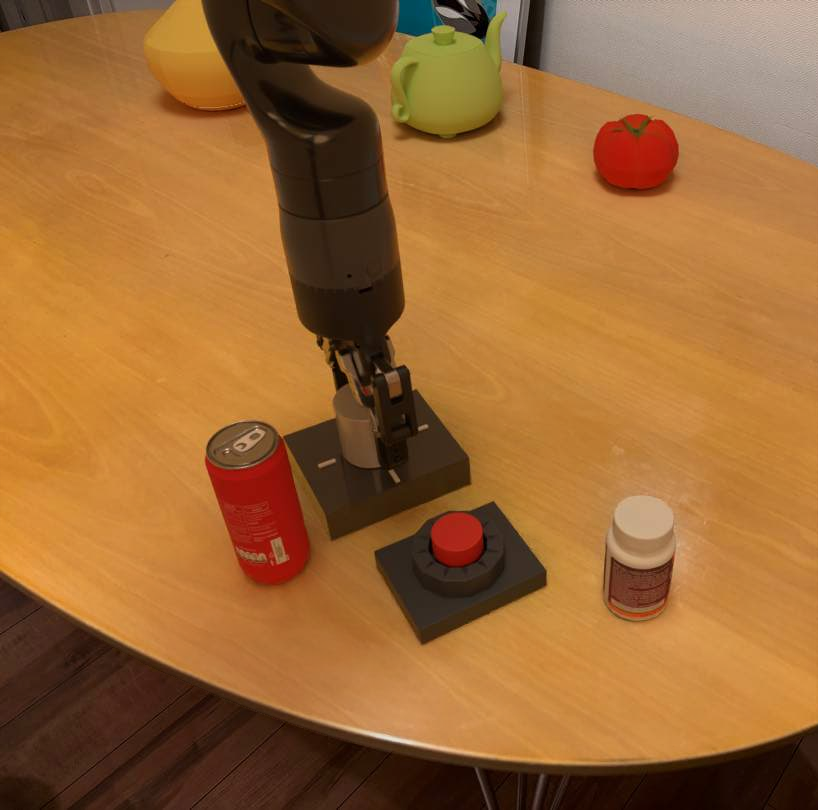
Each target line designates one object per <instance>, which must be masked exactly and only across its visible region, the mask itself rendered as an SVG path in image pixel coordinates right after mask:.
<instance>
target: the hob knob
mask: <svg viewBox="0 0 818 810" xmlns="http://www.w3.org/2000/svg"><path fill="white" fill-rule="evenodd" d="M361 387H362V389H363V392H364V393H365V394H366V395H371V394H373V393H372V391H371V385H369V386H366V387H363V386H361ZM332 409H333V414H334V418H335V420H336V425H337V430H338V435H339V440H340V445H341V450H342V454H343V456H344V458H345V459H346V460H347V461H348V462H349V463H351V464H353V465H355V466H358V467H362V468H378V467H381V466H380V464H379V463H378V457H377V451H376V445H375V439H374V434H373V432H372V426H371V423H370V420H369V417H368V414H367V412H366V410H365V409H364V408H360V407H358V406H357V404H356V401H355V398H354V396H353V393H352V390H351V387H350V384H349V383H348V384H346V385H344V386H343V387H341V388H340V389H339V390H338V391H337V392H336V391H335V393H334V396H333V399H332ZM406 441H407V439H406Z"/></svg>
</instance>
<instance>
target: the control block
mask: <svg viewBox="0 0 818 810" xmlns="http://www.w3.org/2000/svg"><path fill="white" fill-rule="evenodd" d="M451 513H466V514H469V515H472V516H474V517H475V518H476V519H477V520H478V521H479V522H480V523H481V526H482V530H483V552H482V554H481V556H480V557H479V558H478V559H477V560H476V561H475V562H473V563H472V564H470V565H467V566H464V567H450V566H446V565H444V564H442V563H440V562H439V561H438V560H437V559H436V557H435V556H434V553H433V547H432V538H431V530H432V527H433V525H434V524H435V522H436V521H437V520H438V519H440V518H441V517H443V516H445V515H447V514H451ZM373 554H374V560H375V565H376V568H377V570H378V572H379V573H380V575H381V576H382V579H383V580H384V582H385V584H386V585H387V587H388V589H389V591H390V592H391V594H392V596H393V598H394V599H395V601H396V602H397V604H398V606H399V609H400V610H401V612H402V613H403V615H404V616H405V618H406V620H407V622H408V623H409V625H410V627H411V629H412V631H413V632H414V634H415V636H416V638H417V639H418V641H419V642H420V644H421V645H424V644H426V643H428V642H431V641H433V640H435V639H436V638H439V637H441V636H444V635H445V634H447V633H450V632H451V631H454V630H456V629H458V628H460V627H462V626H464V625H466V624H468V623H471V622H472V621H475V620H477V619H479V618H481V617H483V616H485V615H487V614H489V613H491V612H493V611H495V610H498V609H500V608H502V607H504V606H506V605H508V604H510V603H512V602H514V601H516V600H518V599H521V598H522V597H525V596H527V595H529V594H531V593H534V592H536V591H537V590H539V589H541V588H543V587H545V586H547V579H548V577H547V576H548V575H547V573H548V570H547V569H546V568H545V566H544V565H543V564H542V562H541V561H540V560H539V559H538V557H537V555H536V554H535V553H534V552H533V550H532V549H531V548H530V546H529V545H528V544H527V543H526V541H525V540H524V538H523V537H522V536H521V535H520V533H519V532H518V530H517V529H516V528H515V527H514V526H513V524H512V523H511V522H510V520H509V519H508V518H507V516H506V515H505V513H504V512H503V511H502V510H501V508H500V507H499V506H498V504H497V503H496V502H495V500H492V501H489V502H487V503H485V504H483V505H480V506H478V507H475V508H473V509H471V510H448V511H445V512H443V513H441V514H438V515H435V516H433V517H431V518H428V519H427V520H426V521H424V523H423V524H422V525H421V526H420V528H419V529H418V530H417V531H416V532H415V533H414V534H412V535H409V536H407V537H405V538H402V539H399V540H397V541H395V542H392V543H390V544H388V545H386V546H384V547H380V548H378V549H376V550H374V551H373Z"/></svg>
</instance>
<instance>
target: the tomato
mask: <svg viewBox="0 0 818 810" xmlns="http://www.w3.org/2000/svg"><path fill="white" fill-rule="evenodd" d="M652 118H654V115H653V116H649V115H646V114H641V113H634V114H633V113H632V114H628V115H625V116H624V117H621V118H620V117H619V119H618V120H611V121H607V122H605V124H603V125H602V126H601V127H600V128H599V130H598V133H597V135H596V136H595V140H594V143H593V150H592V155H593V162H594V165H595V167H596V171H597V172H599V173H600V174H601V175H602V177H603V179H604V180H605V181H606V182H608V183H609V184H611V186H614V187H618V188H621V189H638V190H646V189H651V188H655V187H657V186H659V185H661V184H663V183H664V182H666V180H667V179H668V177H669V176H670V174H671V173H672V172H673V170H674V169H675V167H676V166H677V164H678V160H679V157H680V150H679V147H680V145H679V143H678V141H677V137H676V136H675V132H674V130H673V129H672V128H671V127H670V125H668V123H667V122H665V121H664V120H663V119H658V118H654V119H652Z"/></svg>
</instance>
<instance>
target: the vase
mask: <svg viewBox="0 0 818 810" xmlns="http://www.w3.org/2000/svg"><path fill="white" fill-rule="evenodd" d="M142 52H143V55H144V58H145V62H146V64H147V68H148V70H149V72H151V74H152V75H153V76H154V78H155V79H156V80H157V82H158V83H159V85H160V86H161V88H163V90H165V91H166V92H168V93H169V94H170V95H172V96H173V98H175V99H176V100H178V102H180V103H182V104H184V103H185V104H184V105H186V106H188V107H191V108H193V109H195V110H200V111H206V112H208V111H209V112H217V111H227V110H233V109H238V108H241V107H243V106H246V104H245V102H244V100H243V98H242V96H241V94H240V92H239V90H238V88H237V86H236V84H235V82H234V80H233V78H232V76H231V75H230V73H229V71H228V69H227V67H226V65H225V63H224V61H223V59H222V57H221V55H220V53H219V51H218V49H217V47H216V44H215V42H214V40H213V38H212V36H211V33H210V31H209V28H208V25H207V22H206V19H205V16H204V12H203V8H202V3H201V0H174V1H173V3H172V4H171V5H170V7H168V9H167V10H166V11H165V12H164V13H163V15H161V16H160V18H159V19H158V20H157V21H156V22H155V23H154V24H153V25H152V26H151V27H150V28H149V29H148V30H147V31H146V32H145V35H144V36H143V40H142ZM243 102H244V103H243ZM239 103H241V104H239ZM235 104H237V105H235ZM189 105H191V106H189ZM230 105H233V106H230ZM194 106H196V107H194ZM221 106H228V107H221ZM199 107H221V108H199Z"/></svg>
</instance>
